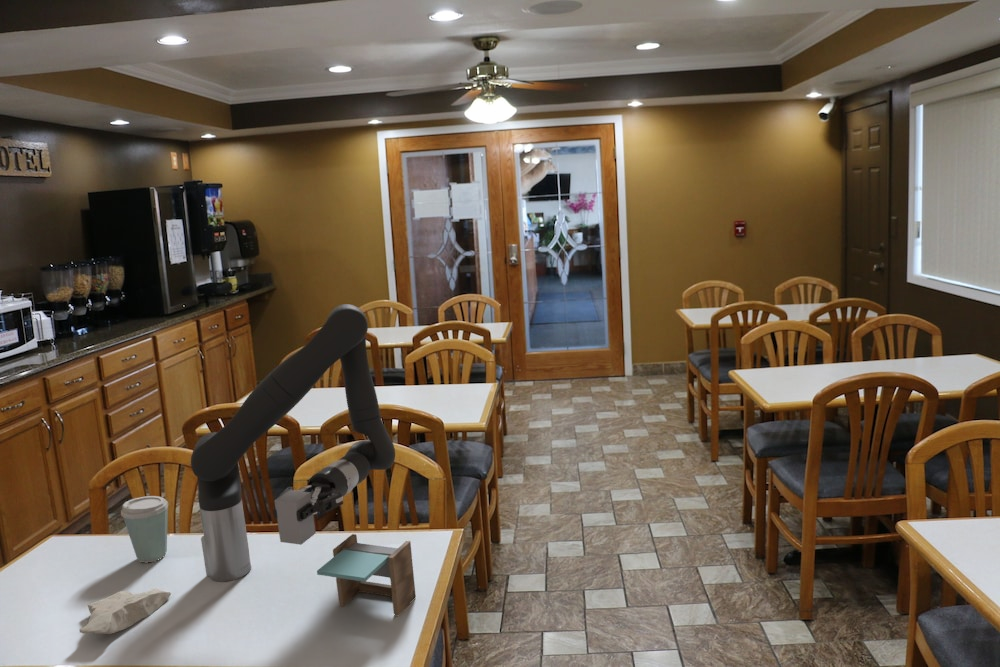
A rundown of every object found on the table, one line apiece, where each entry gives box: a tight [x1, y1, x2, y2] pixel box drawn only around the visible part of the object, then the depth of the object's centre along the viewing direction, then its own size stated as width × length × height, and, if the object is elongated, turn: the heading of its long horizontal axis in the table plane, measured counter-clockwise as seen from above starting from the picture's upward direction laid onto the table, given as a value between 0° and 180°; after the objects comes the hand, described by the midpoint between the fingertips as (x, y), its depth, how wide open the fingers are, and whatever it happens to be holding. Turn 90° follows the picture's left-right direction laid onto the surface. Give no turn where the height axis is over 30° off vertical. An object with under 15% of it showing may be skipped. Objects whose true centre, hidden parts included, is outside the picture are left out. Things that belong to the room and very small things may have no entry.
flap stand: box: [332, 533, 417, 616], centre depth 166 cm, size 8×14×13 cm, turn 68°
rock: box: [79, 588, 172, 635], centre depth 167 cm, size 21×5×15 cm
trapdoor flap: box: [316, 542, 399, 582], centre depth 161 cm, size 14×11×6 cm
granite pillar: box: [273, 489, 317, 545], centre depth 159 cm, size 5×5×9 cm
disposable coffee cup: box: [120, 495, 169, 564], centre depth 194 cm, size 11×11×15 cm
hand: (286, 515), depth 157 cm, fingers closed on granite pillar, 5 cm apart
